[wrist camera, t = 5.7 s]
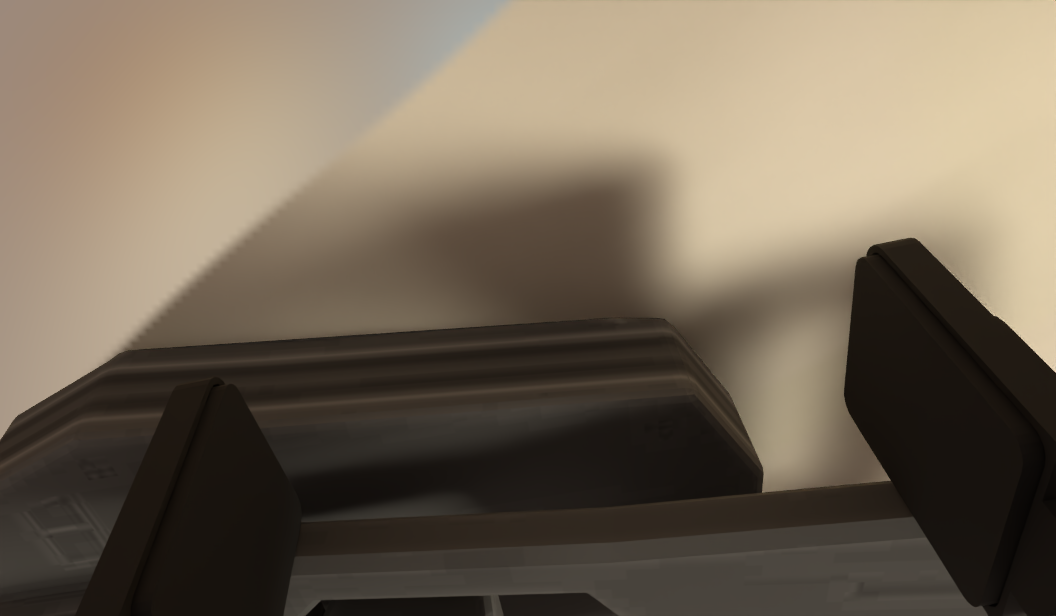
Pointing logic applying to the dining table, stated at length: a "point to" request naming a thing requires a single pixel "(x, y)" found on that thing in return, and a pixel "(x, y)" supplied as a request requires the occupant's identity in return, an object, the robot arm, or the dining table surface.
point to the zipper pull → (479, 482)
